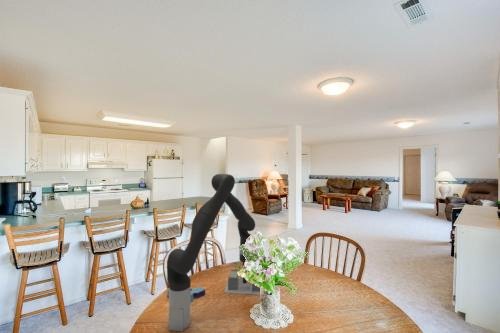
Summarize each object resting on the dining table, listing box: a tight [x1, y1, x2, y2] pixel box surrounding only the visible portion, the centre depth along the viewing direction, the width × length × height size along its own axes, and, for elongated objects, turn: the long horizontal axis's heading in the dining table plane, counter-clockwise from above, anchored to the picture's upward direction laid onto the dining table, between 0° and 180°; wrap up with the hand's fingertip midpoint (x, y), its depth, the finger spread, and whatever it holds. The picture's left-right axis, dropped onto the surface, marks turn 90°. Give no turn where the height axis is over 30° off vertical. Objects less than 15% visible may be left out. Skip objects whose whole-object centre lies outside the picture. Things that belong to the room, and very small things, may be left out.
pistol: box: [166, 286, 206, 304], centre depth 135 cm, size 4×16×15 cm
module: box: [239, 276, 251, 287], centre depth 144 cm, size 4×6×8 cm, turn 85°
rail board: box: [224, 269, 261, 296], centre depth 144 cm, size 14×22×8 cm, turn 85°
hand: (245, 279), depth 144 cm, fingers open, 8 cm apart
